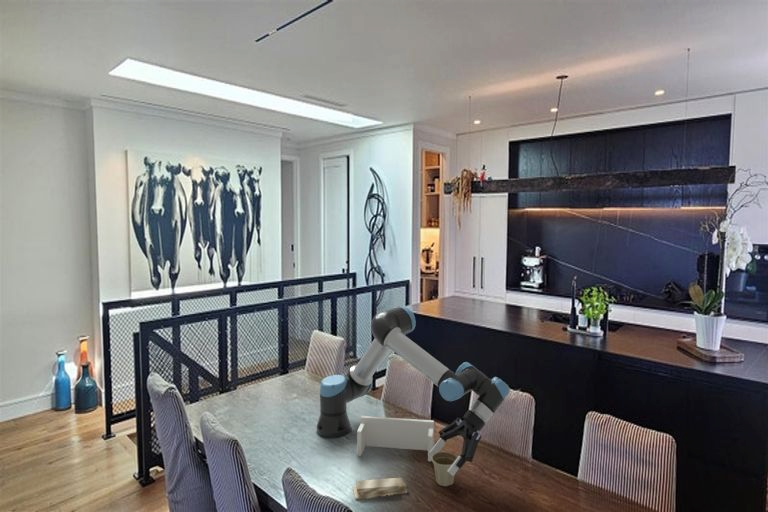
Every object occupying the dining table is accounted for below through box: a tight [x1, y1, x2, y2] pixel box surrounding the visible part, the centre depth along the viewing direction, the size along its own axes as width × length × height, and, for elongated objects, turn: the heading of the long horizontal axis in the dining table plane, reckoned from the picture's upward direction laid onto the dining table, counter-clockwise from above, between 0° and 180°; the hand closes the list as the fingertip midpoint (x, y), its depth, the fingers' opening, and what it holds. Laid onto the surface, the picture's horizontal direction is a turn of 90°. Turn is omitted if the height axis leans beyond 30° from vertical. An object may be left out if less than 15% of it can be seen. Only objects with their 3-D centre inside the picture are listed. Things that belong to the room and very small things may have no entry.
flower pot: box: [432, 451, 458, 487], centre depth 159 cm, size 9×9×9 cm
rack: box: [356, 415, 435, 462], centre depth 180 cm, size 30×10×12 cm, turn 81°
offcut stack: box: [352, 476, 408, 500], centre depth 154 cm, size 18×7×4 cm, turn 102°
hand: (440, 463), depth 158 cm, fingers open, 13 cm apart
